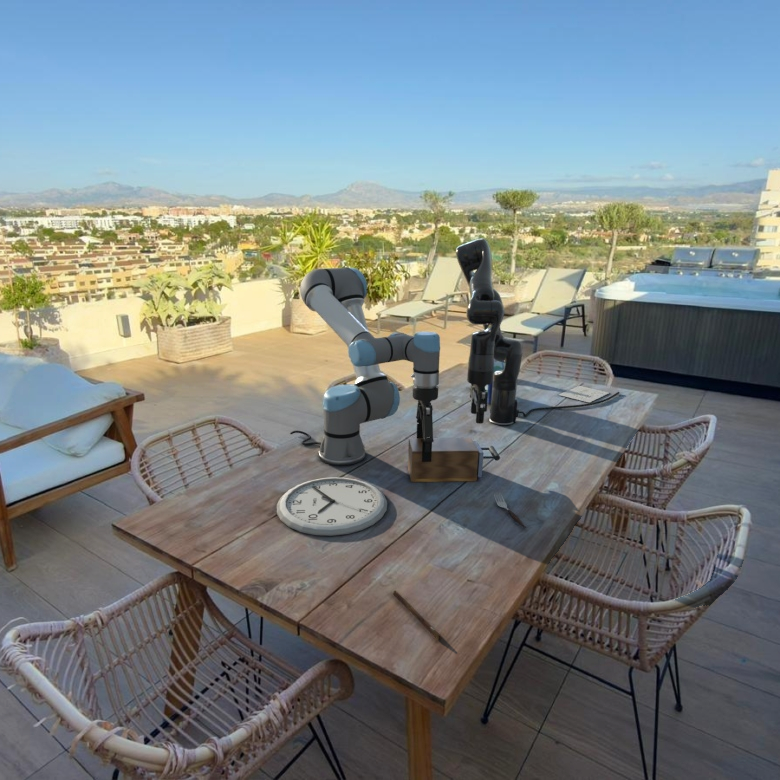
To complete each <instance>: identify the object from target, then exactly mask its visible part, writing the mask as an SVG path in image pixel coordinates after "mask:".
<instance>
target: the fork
mask: <svg viewBox="0 0 780 780" xmlns="http://www.w3.org/2000/svg"><path fill="white" fill-rule="evenodd" d="M497 494H498V495H497ZM493 497H494V499H495V503H496V505H497V506H498V507H499V508H502V509H505V510H507V512H508V514H509V515H510V517H511V518H513V519H514V521H516V522H517V523H518V524H519V525H521V526H522V527H523V528H524V529H526V525H524V523H523V522H522V521H521V520H520V518H519V517H518V516H517V515H516V514H515V513H514V512H513V511H511V509H509V508H508V504H507V502H506V501H505V499H504V497H503V495H502V493H499V492H498V493H495V494H493Z"/></svg>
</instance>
